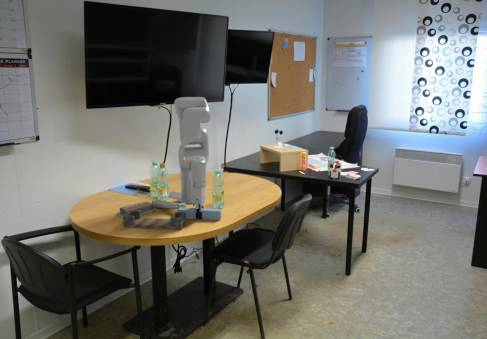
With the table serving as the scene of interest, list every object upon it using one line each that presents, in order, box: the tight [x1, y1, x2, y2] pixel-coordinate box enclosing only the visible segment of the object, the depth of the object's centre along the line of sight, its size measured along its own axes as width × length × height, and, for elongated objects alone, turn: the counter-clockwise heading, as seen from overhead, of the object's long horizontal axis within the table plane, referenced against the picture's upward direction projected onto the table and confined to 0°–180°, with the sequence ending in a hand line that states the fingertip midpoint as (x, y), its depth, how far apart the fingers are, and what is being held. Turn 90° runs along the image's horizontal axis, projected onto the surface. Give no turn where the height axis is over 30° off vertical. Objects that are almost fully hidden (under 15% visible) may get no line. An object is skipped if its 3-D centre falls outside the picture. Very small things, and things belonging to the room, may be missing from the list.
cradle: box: [122, 210, 187, 231], centre depth 211 cm, size 29×10×6 cm, turn 84°
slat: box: [177, 207, 222, 221], centre depth 221 cm, size 22×4×5 cm, turn 85°
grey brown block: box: [115, 201, 156, 219], centre depth 228 cm, size 18×5×10 cm
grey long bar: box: [150, 199, 188, 212], centre depth 231 cm, size 5×7×25 cm
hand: (199, 217), depth 221 cm, fingers closed on slat, 4 cm apart
